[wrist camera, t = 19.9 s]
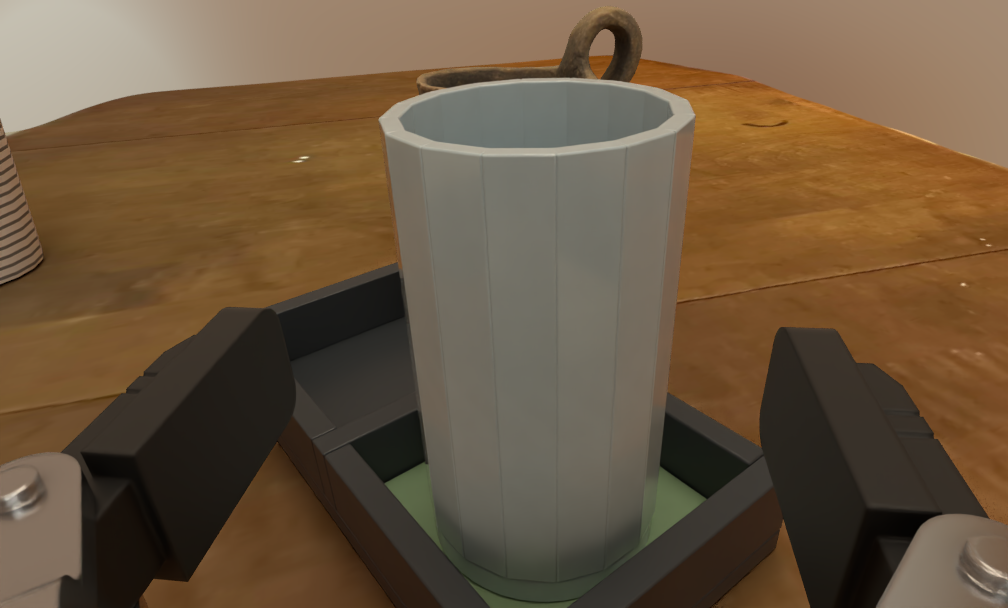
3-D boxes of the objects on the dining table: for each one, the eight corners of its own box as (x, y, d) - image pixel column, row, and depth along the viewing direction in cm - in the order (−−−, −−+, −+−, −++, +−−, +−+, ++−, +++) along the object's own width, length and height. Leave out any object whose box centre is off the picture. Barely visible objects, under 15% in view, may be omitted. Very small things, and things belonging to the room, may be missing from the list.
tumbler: (698, 518, 18) (760, 105, 12) (527, 653, 15) (508, 181, 9) (551, 410, 22) (549, 67, 16) (395, 497, 19) (327, 111, 13)
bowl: (403, 144, 54) (387, 13, 49) (597, 120, 58) (601, -3, 53) (440, 199, 42) (424, 35, 37) (678, 164, 47) (693, 12, 42)
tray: (777, 548, 18) (796, 466, 16) (519, 783, 13) (514, 700, 12) (436, 309, 30) (429, 250, 29) (239, 388, 25) (219, 322, 24)
